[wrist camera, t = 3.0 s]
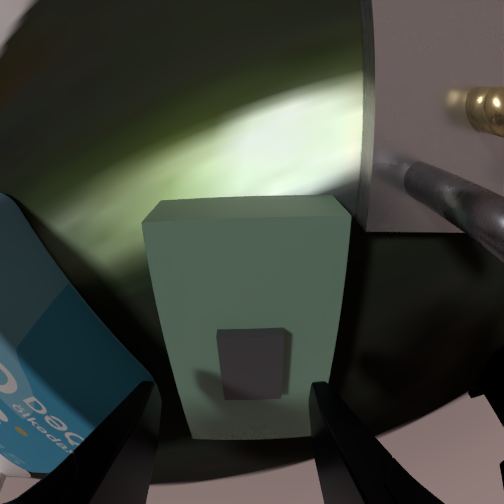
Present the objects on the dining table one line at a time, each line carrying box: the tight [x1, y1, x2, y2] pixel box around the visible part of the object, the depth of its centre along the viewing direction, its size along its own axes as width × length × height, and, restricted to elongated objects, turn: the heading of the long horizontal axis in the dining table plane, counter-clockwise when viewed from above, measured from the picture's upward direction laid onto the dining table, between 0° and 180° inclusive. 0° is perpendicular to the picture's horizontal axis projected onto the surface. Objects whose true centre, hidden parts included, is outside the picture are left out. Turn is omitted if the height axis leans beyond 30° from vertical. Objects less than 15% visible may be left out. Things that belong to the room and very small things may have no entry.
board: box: [142, 195, 351, 440], centre depth 11 cm, size 6×10×3 cm, turn 2°
